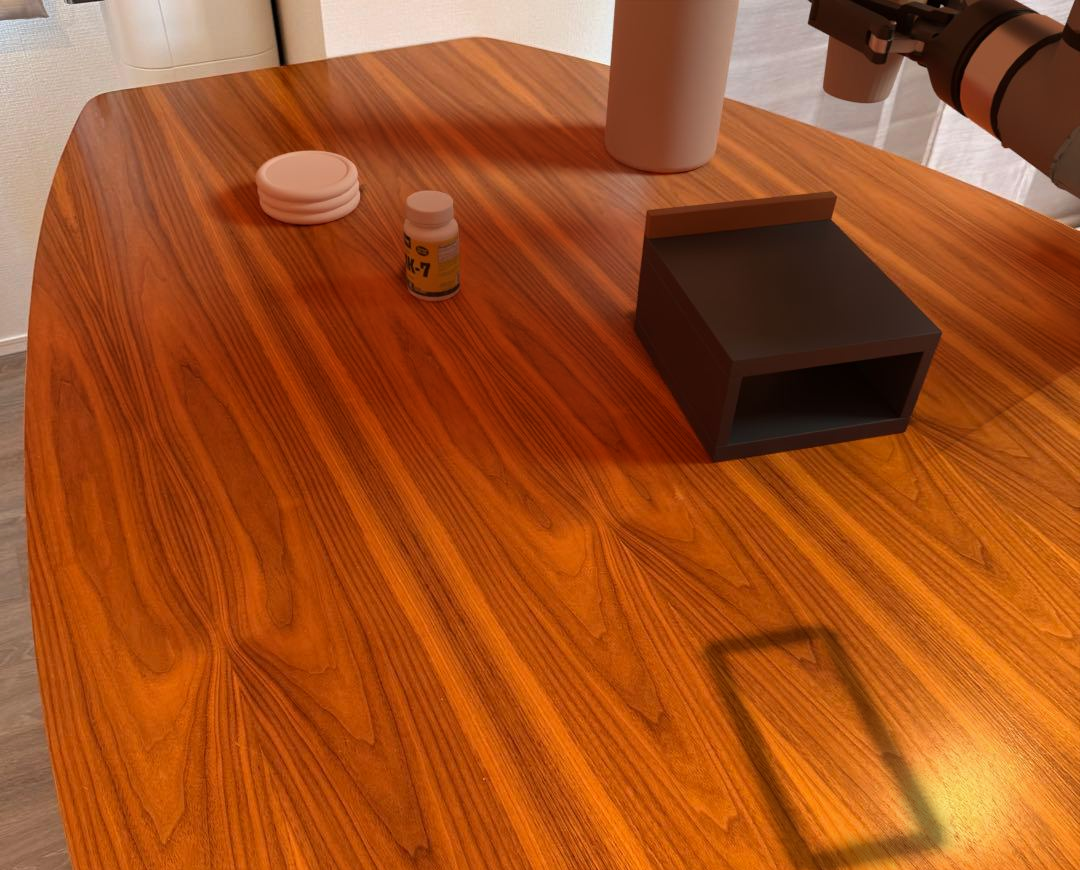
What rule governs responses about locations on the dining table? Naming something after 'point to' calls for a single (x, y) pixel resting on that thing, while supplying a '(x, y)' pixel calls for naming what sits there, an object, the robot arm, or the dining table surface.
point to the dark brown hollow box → (777, 327)
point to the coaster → (308, 187)
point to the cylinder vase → (668, 81)
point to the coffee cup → (860, 72)
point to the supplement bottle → (431, 246)
